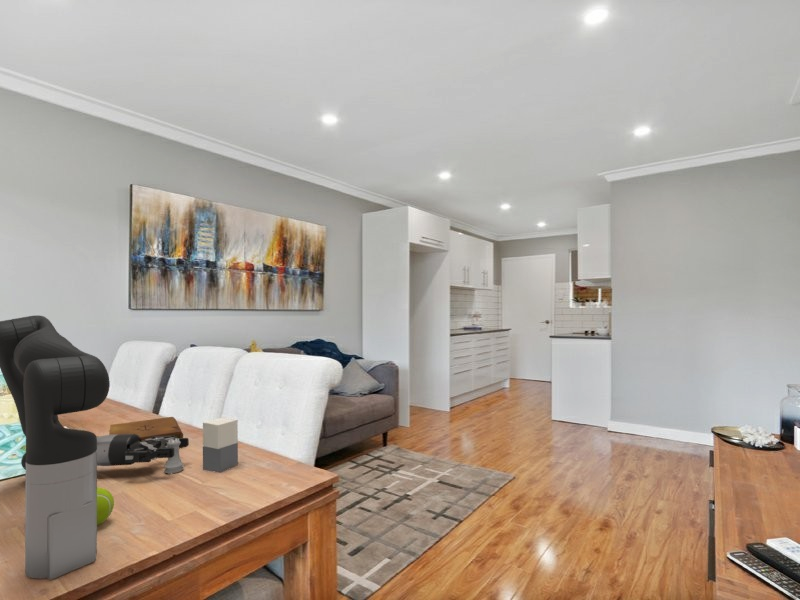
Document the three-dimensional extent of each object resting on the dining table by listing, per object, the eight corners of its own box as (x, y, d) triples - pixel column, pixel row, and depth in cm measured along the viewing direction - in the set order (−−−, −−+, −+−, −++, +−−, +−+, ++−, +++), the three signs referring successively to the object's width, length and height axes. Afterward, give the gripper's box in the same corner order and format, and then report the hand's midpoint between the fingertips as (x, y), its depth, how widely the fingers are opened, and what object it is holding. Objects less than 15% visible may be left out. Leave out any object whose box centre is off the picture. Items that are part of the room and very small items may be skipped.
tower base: (237, 464, 115) (237, 442, 115) (220, 472, 109) (220, 448, 109) (220, 462, 117) (220, 439, 117) (202, 469, 111) (202, 446, 111)
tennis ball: (117, 525, 82) (117, 488, 83) (72, 539, 77) (72, 500, 78) (109, 513, 87) (109, 478, 88) (66, 526, 82) (66, 489, 83)
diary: (183, 450, 130) (183, 431, 130) (108, 463, 120) (108, 442, 120) (175, 432, 149) (175, 415, 149) (110, 442, 139) (110, 424, 139)
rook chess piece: (175, 474, 108) (175, 442, 108) (159, 473, 109) (159, 442, 109) (187, 468, 112) (187, 437, 113) (172, 467, 113) (172, 436, 114)
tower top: (237, 442, 114) (237, 419, 114) (218, 449, 109) (217, 425, 109) (222, 439, 117) (222, 417, 117) (203, 445, 112) (202, 422, 112)
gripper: (98, 443, 103) (168, 440, 104) (130, 427, 117) (192, 425, 118) (98, 475, 103) (168, 472, 104) (130, 455, 117) (192, 452, 118)
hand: (181, 447), depth 111 cm, fingers open, 8 cm apart
